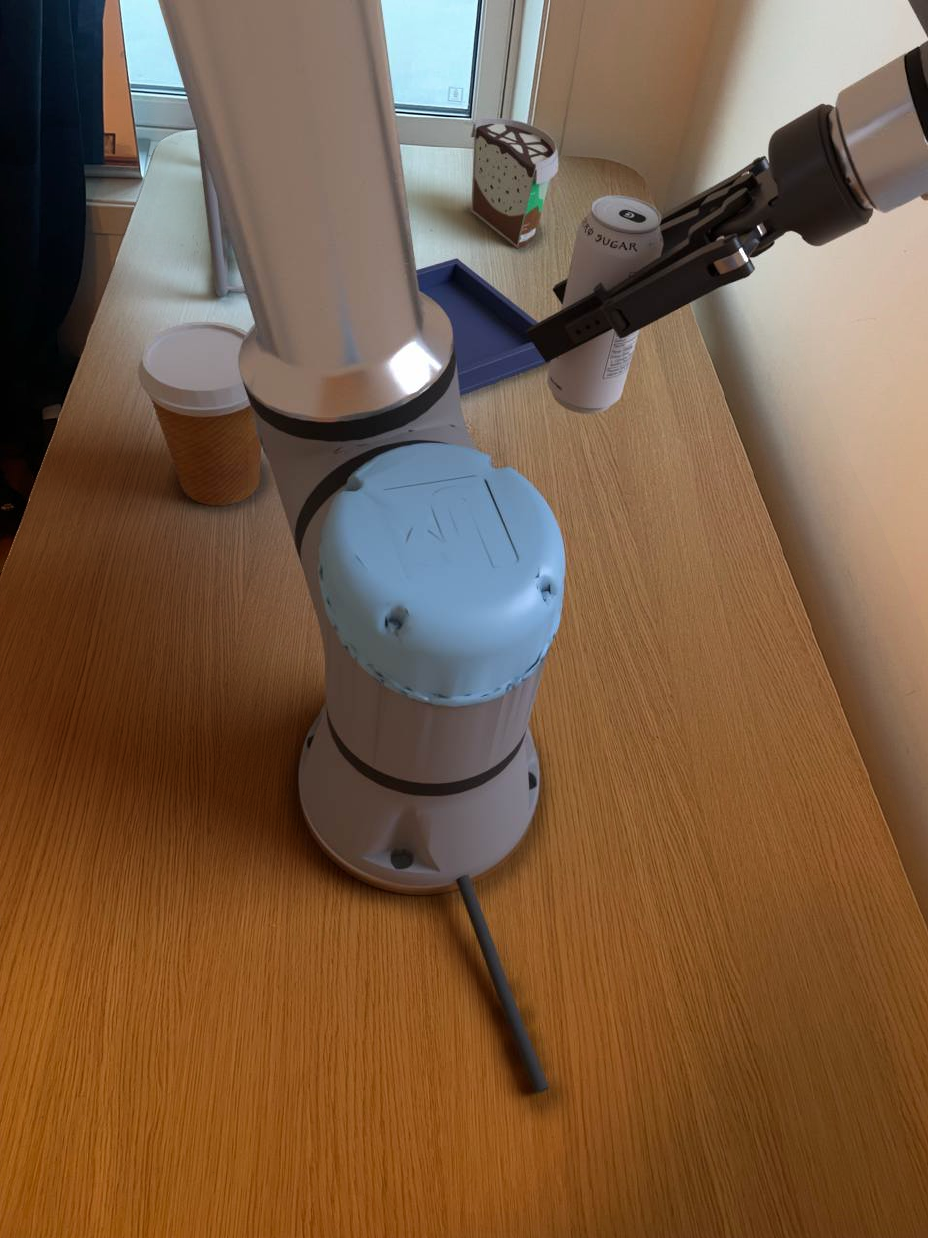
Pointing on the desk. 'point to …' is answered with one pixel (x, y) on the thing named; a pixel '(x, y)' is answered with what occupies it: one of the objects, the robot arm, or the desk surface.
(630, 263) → the energy drink can
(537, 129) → the food container
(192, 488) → the disposable coffee cup
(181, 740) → the desk surface
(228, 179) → the robot arm
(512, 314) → the navy tray
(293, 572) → the desk surface
